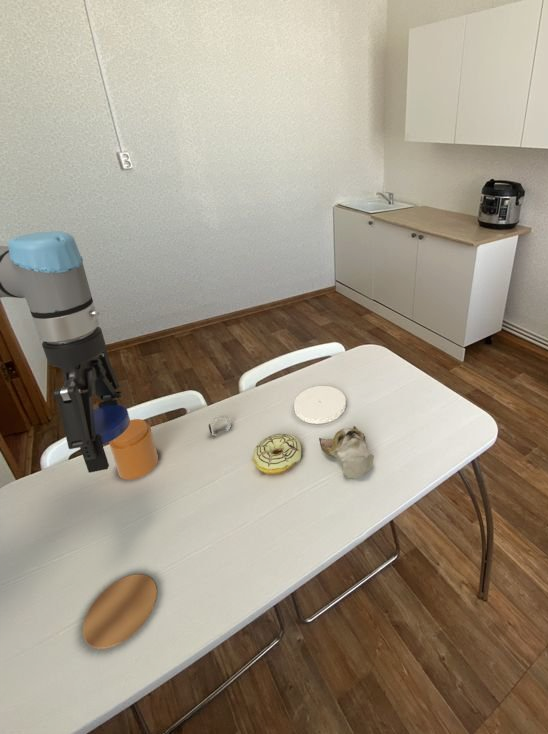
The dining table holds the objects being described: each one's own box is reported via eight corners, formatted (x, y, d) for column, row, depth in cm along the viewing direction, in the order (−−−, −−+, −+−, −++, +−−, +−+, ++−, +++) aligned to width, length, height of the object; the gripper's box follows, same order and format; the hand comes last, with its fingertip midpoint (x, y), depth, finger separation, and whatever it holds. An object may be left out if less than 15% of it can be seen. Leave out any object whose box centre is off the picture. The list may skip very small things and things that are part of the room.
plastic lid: (289, 400, 108) (288, 393, 108) (336, 388, 113) (335, 381, 113) (302, 433, 96) (301, 425, 95) (353, 417, 101) (353, 410, 100)
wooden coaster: (67, 638, 57) (66, 635, 57) (123, 570, 66) (122, 567, 66) (121, 661, 55) (119, 657, 54) (171, 586, 64) (170, 583, 63)
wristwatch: (209, 434, 96) (206, 418, 95) (229, 426, 99) (226, 410, 97) (213, 441, 94) (210, 425, 92) (233, 432, 97) (230, 416, 95)
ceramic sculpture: (339, 460, 77) (314, 418, 90) (341, 495, 79) (317, 449, 92) (385, 443, 81) (355, 405, 94) (386, 476, 83) (357, 435, 96)
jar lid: (141, 417, 68) (139, 408, 67) (100, 452, 60) (97, 443, 60) (103, 410, 70) (101, 401, 69) (59, 442, 62) (56, 433, 62)
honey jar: (110, 477, 85) (98, 439, 81) (138, 450, 92) (129, 414, 88) (139, 485, 83) (128, 446, 79) (166, 457, 90) (157, 420, 86)
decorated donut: (310, 463, 87) (309, 450, 86) (265, 487, 82) (264, 473, 80) (289, 436, 95) (288, 424, 94) (248, 456, 89) (246, 443, 88)
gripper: (70, 365, 50) (112, 494, 58) (119, 303, 69) (146, 406, 77) (2, 375, 48) (55, 507, 56) (72, 309, 67) (104, 414, 75)
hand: (108, 449), depth 66 cm, fingers closed on jar lid, 8 cm apart
